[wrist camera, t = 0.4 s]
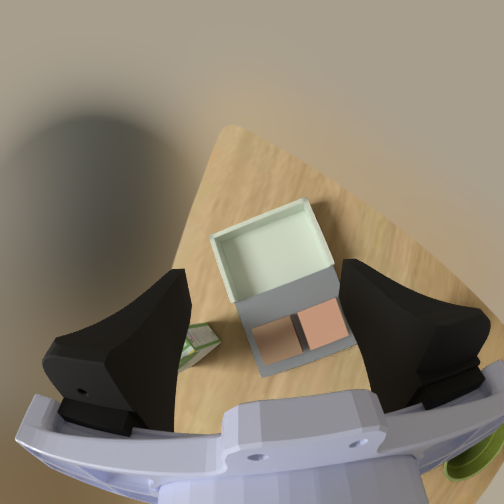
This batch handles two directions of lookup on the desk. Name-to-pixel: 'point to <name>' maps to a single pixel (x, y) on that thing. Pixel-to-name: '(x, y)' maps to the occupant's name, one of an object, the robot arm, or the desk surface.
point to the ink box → (197, 345)
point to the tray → (270, 250)
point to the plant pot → (474, 457)
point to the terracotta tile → (323, 323)
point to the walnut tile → (277, 340)
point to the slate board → (293, 316)
